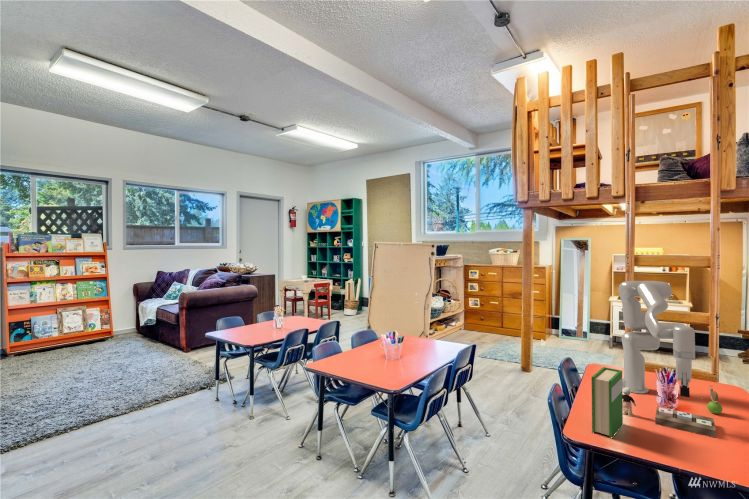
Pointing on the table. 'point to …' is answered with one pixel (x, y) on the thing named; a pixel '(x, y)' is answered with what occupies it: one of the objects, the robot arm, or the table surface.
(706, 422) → the cream knobbed tile
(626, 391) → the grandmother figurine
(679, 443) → the table surface
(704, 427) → the counting board
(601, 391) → the hardback book
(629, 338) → the robot arm
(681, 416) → the three dot tile
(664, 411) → the two dot tile
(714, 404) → the snail figurine
